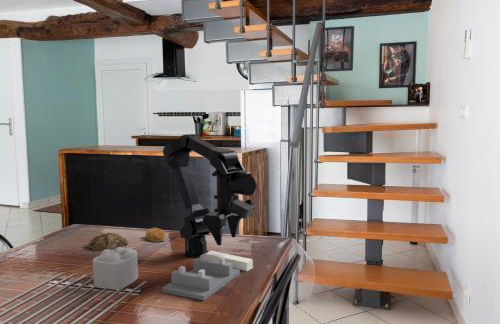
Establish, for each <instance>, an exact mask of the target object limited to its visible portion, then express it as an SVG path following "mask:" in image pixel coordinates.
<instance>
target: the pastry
mask: <svg viewBox="0 0 500 324" xmlns="http://www.w3.org/2000/svg"><path fill="white" fill-rule="evenodd" d="M145 238H146V240H147V241H150V242H154V243H159V242H162V241H163V242H164V241H165V240H166V233H165V232H164V230H162V229H161V228H158V227H150V229H148V230H147V231H146V232H145Z"/></svg>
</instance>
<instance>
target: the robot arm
mask: <svg viewBox="0 0 500 324" xmlns="http://www.w3.org/2000/svg"><path fill="white" fill-rule="evenodd" d="M191 152H195V153H196V154H198V155H200V156H202V157H203V158H205V159H206V160H208V163H209V164H210V166H211V167H213V168H214V171H213V172H212V173H211V176H212V177H215V178H216V194H214V195H213V199H214V200H216V207H215V208H213V212H209V209H208V207H205V208H204V207H203V206H202V205H201V202H200V200H199V197H198V193H197V190H196V187H195V183H194V180H193V177H192V174H191V170H190V168H189V163H190V159H191V155H190V153H191ZM162 154H163V157H164V159H165V161H166V164H167V165H169V167H170V168H172V170H173V172H174V175H175V178H176V181H177V184H178V185H177V186H178V188H179V191H180V194H181V198H182V202H183V204H184V207H185V212H184V217H183V221H184V225H183V226H182V228H181V229H180V230H179V235H180V238H181V239H184V252H182V256H187V257H193V258H200V256H201V255H202V254H205V253H208V252H209V250H208V249H207V247H208V245H207V240H206V236H209V235H210V234H211V235H212V237H213V239H214V241H215V243H216V246H221V245H222V241H223V240H222V239H223V232H224V231H223V230H224V228H225V227H226V226H227V225H228V227H229V228H228V229H229V231H230V232H229V233H230V236H231V237H232V238H236V235H237V232H238V229H239V225H240V222H241V220H242V219H244V220H245V219H247V218H249V217H251V216H252V213H253V211H255V203H254V200H253V199H251V198H248V199H246V200H241V199H240V197H239V195H240V196H241V195H242V196H247V197H251V196H253V195H254V193H255V192H256V189H257V182H256V179H255V178H254V177H253V176H252V172H251V171H246V170H245V167H244V166H243V164H242V162H241V159H240V158H239V156H238V153H237V152H236V151H235V150H233V149H228V148H225V147H224V148H222V147H219V146H218V147H217V146H216V145H214V144H212V143H210V142H208V141H206V140H204V139H202V138H200V137H198V136H197V134H193V133H190V134H188V133H187V134H183V135H181V136H180V137H179V138H177V139H174V140H172V141H170V142H169V143H166V144H165V146H164V147H163V150H162ZM227 223H228V224H227Z"/></svg>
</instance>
